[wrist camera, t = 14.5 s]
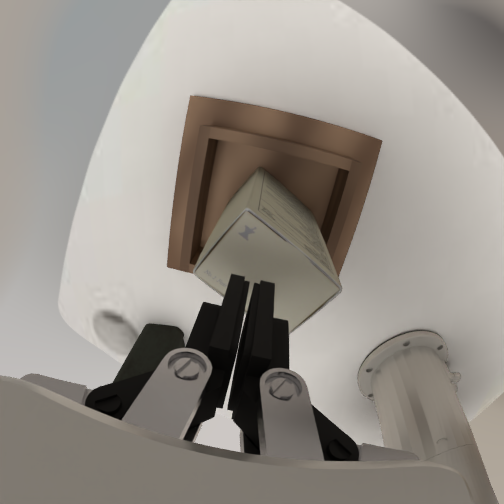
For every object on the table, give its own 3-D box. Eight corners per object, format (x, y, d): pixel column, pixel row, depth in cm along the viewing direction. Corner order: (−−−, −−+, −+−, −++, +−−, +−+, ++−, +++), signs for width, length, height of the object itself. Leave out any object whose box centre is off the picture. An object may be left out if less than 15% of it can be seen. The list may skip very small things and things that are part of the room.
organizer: (378, 139, 22) (397, 144, 18) (326, 297, 29) (332, 326, 25) (193, 96, 22) (176, 92, 18) (170, 262, 29) (153, 285, 25)
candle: (142, 322, 33) (43, 508, 10) (182, 326, 32) (98, 537, 10) (151, 353, 35) (74, 525, 12) (188, 358, 34) (125, 547, 12)
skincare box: (226, 202, 25) (183, 271, 14) (261, 163, 23) (243, 201, 12) (282, 248, 26) (281, 343, 15) (317, 213, 24) (346, 290, 13)
